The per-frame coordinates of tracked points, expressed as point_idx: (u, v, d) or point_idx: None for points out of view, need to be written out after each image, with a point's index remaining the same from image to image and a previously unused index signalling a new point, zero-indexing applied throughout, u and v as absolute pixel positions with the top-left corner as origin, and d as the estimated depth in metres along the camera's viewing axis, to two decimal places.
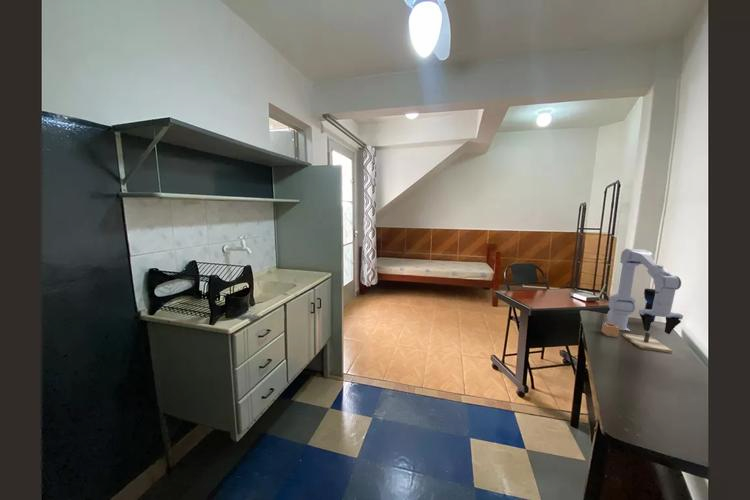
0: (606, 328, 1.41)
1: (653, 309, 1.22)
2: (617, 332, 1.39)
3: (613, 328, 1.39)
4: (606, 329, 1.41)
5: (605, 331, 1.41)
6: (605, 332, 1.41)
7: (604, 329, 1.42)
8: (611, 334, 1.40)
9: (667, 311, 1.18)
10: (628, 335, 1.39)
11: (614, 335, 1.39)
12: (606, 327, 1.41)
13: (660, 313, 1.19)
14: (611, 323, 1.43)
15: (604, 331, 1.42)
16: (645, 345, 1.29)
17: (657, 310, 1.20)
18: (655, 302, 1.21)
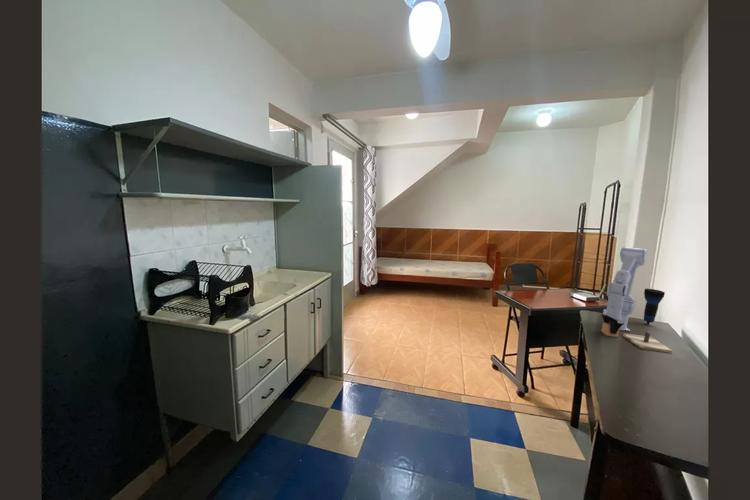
0: (606, 328, 1.41)
1: None
2: (617, 332, 1.39)
3: None
4: (606, 329, 1.41)
5: (605, 331, 1.41)
6: (605, 332, 1.41)
7: (604, 329, 1.42)
8: (611, 334, 1.40)
9: (607, 311, 1.41)
10: (628, 335, 1.39)
11: (614, 335, 1.39)
12: (606, 327, 1.41)
13: (605, 312, 1.43)
14: None
15: (604, 331, 1.42)
16: (645, 345, 1.29)
17: None
18: None
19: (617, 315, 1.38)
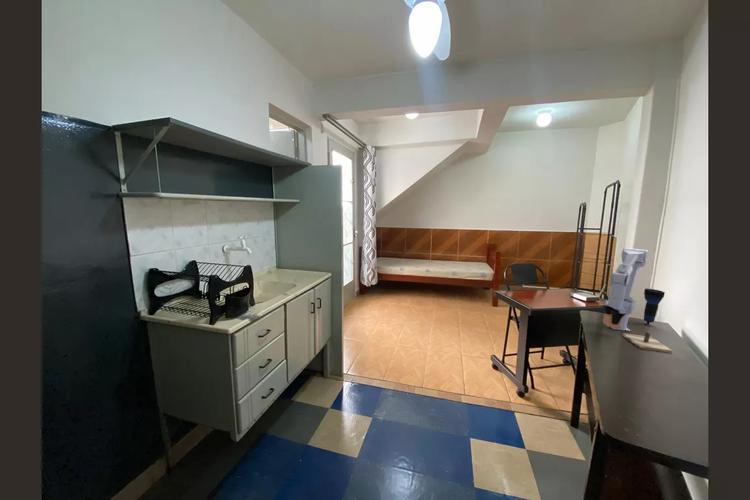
0: (608, 319, 1.40)
1: None
2: (619, 323, 1.38)
3: None
4: (608, 320, 1.40)
5: (607, 322, 1.41)
6: (607, 323, 1.41)
7: (606, 320, 1.42)
8: (613, 325, 1.39)
9: (609, 301, 1.40)
10: (628, 335, 1.39)
11: (616, 326, 1.39)
12: (608, 318, 1.40)
13: (607, 303, 1.42)
14: None
15: (606, 322, 1.42)
16: (645, 345, 1.29)
17: None
18: None
19: (619, 305, 1.37)
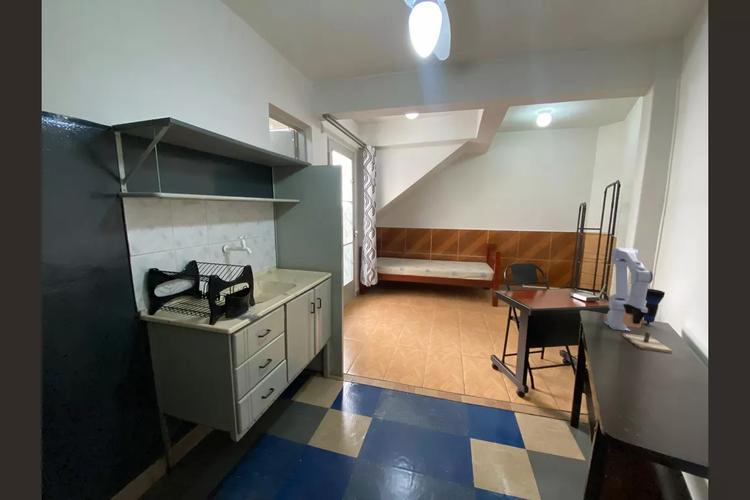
0: (628, 318, 1.35)
1: None
2: (639, 323, 1.33)
3: None
4: (628, 320, 1.35)
5: (626, 322, 1.35)
6: (626, 323, 1.35)
7: (625, 320, 1.36)
8: (633, 325, 1.34)
9: (630, 300, 1.34)
10: (628, 335, 1.39)
11: (636, 326, 1.33)
12: (628, 317, 1.35)
13: (628, 301, 1.36)
14: None
15: (625, 322, 1.36)
16: (645, 345, 1.29)
17: None
18: None
19: (640, 304, 1.31)
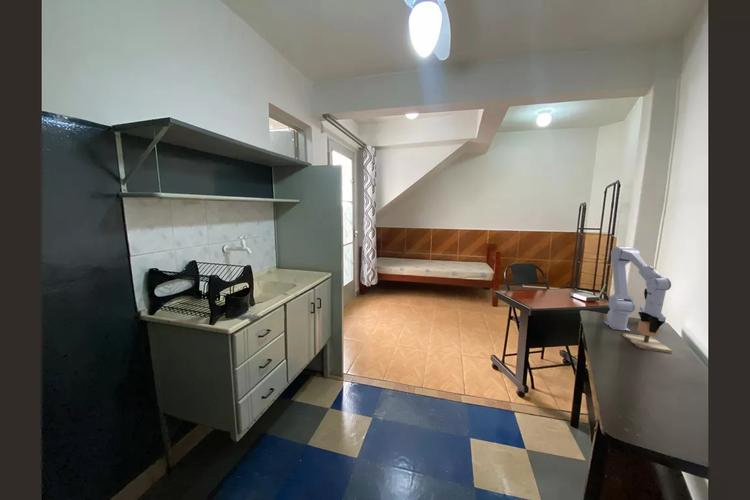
0: (643, 327, 1.31)
1: None
2: None
3: None
4: (643, 328, 1.31)
5: (642, 330, 1.32)
6: (642, 331, 1.32)
7: (641, 328, 1.33)
8: (649, 333, 1.30)
9: (646, 308, 1.31)
10: (628, 335, 1.39)
11: (653, 334, 1.30)
12: (643, 326, 1.31)
13: (643, 309, 1.33)
14: (648, 322, 1.34)
15: (641, 330, 1.33)
16: (645, 345, 1.29)
17: None
18: None
19: (657, 312, 1.28)
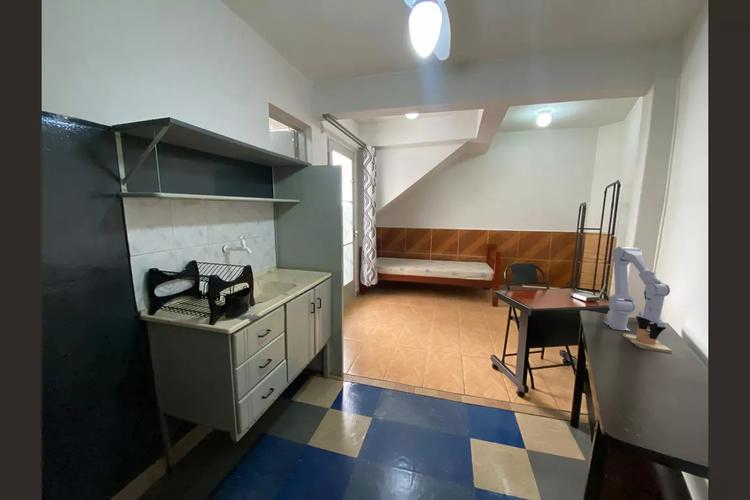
0: (642, 335, 1.32)
1: None
2: (654, 339, 1.30)
3: None
4: (642, 336, 1.32)
5: (641, 338, 1.32)
6: (641, 339, 1.32)
7: (639, 336, 1.33)
8: (648, 341, 1.31)
9: (645, 313, 1.31)
10: (628, 335, 1.39)
11: (651, 342, 1.30)
12: (642, 334, 1.32)
13: (642, 314, 1.33)
14: None
15: (639, 338, 1.33)
16: (645, 345, 1.29)
17: None
18: None
19: (656, 318, 1.28)
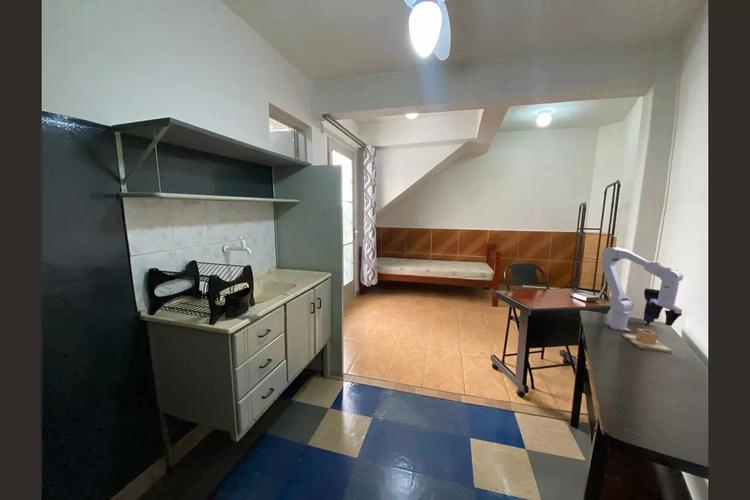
0: (642, 335, 1.32)
1: None
2: (654, 339, 1.30)
3: (650, 335, 1.30)
4: (642, 336, 1.32)
5: (641, 338, 1.32)
6: (641, 339, 1.32)
7: (639, 336, 1.33)
8: (648, 341, 1.31)
9: (660, 300, 1.33)
10: (628, 335, 1.39)
11: (651, 342, 1.30)
12: (642, 334, 1.32)
13: (657, 302, 1.35)
14: None
15: (639, 338, 1.33)
16: (645, 345, 1.29)
17: None
18: None
19: (672, 305, 1.30)
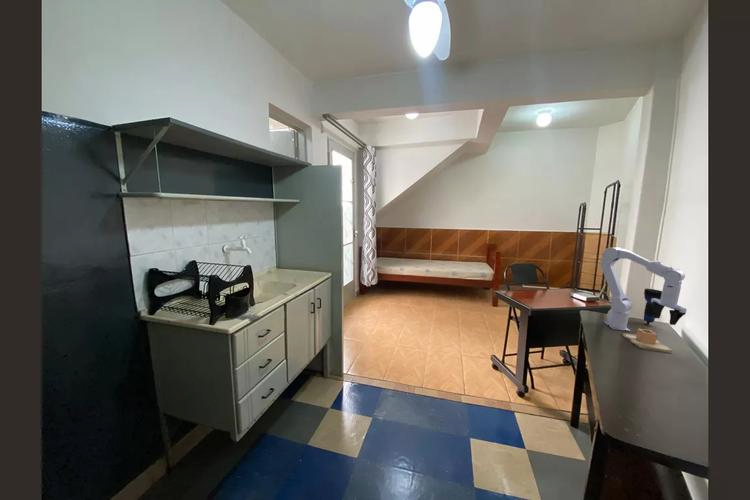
0: (642, 335, 1.32)
1: None
2: (654, 339, 1.30)
3: (650, 335, 1.30)
4: (642, 336, 1.32)
5: (641, 338, 1.32)
6: (641, 339, 1.32)
7: (639, 336, 1.33)
8: (648, 341, 1.31)
9: (663, 300, 1.33)
10: (628, 335, 1.39)
11: (651, 342, 1.30)
12: (642, 334, 1.32)
13: (659, 301, 1.35)
14: None
15: (639, 338, 1.33)
16: (645, 345, 1.29)
17: (660, 299, 1.35)
18: None
19: (675, 304, 1.30)
